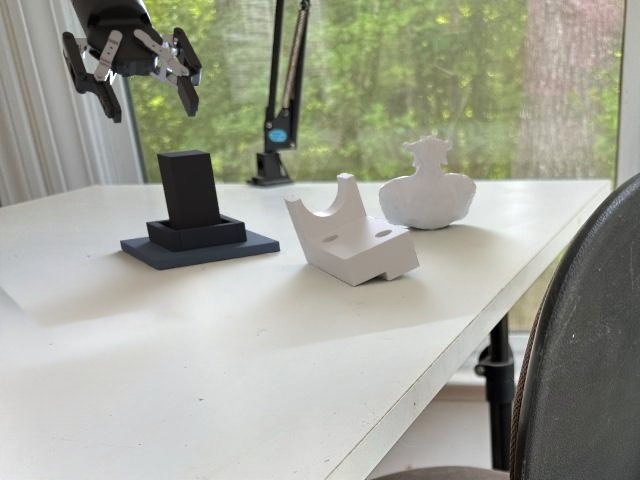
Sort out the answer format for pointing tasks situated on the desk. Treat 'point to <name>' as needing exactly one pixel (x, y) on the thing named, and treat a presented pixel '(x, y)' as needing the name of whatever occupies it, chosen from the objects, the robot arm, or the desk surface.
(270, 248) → the base pad
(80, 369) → the desk surface
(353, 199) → the bracket
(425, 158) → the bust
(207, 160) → the tall black rectangular peg
